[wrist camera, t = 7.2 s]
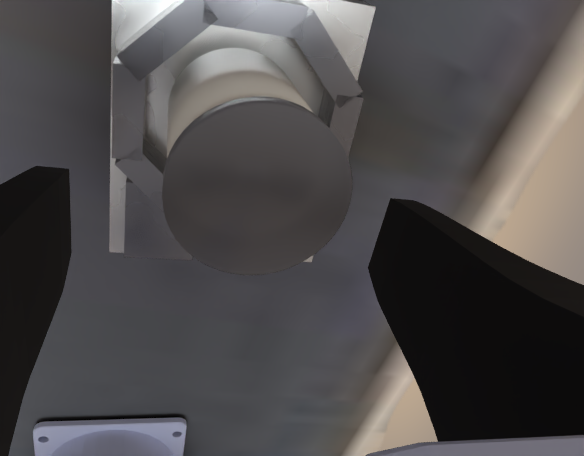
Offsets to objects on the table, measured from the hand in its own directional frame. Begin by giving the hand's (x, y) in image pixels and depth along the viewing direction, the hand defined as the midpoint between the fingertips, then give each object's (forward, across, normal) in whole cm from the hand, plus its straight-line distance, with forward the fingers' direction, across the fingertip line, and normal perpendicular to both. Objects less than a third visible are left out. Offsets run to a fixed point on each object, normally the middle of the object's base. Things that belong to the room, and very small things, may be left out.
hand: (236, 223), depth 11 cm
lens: (+7, 0, 0) cm, 7 cm away
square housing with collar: (+10, -1, +1) cm, 10 cm away
